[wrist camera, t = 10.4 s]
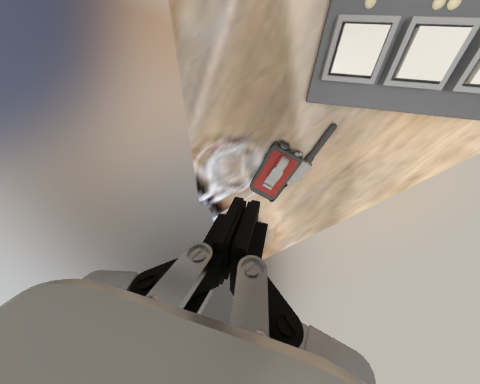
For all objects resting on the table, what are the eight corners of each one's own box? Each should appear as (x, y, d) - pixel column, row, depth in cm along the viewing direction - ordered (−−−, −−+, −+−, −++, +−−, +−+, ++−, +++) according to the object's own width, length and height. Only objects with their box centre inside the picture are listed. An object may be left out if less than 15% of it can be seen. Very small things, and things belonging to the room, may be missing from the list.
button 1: (341, 27, 23) (345, 23, 22) (383, 29, 22) (391, 24, 21) (328, 73, 26) (330, 72, 24) (365, 76, 25) (370, 75, 24)
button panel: (333, -9, 24) (339, -24, 20) (576, -8, 19) (634, -27, 16) (306, 100, 31) (307, 103, 27) (479, 119, 26) (506, 124, 23)
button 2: (410, 29, 22) (420, 25, 20) (458, 31, 21) (472, 27, 19) (389, 78, 25) (396, 77, 23) (430, 81, 24) (441, 81, 22)
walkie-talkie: (280, 202, 43) (339, 125, 32) (278, 213, 39) (345, 131, 28) (248, 185, 43) (296, 101, 31) (243, 195, 39) (296, 104, 28)
